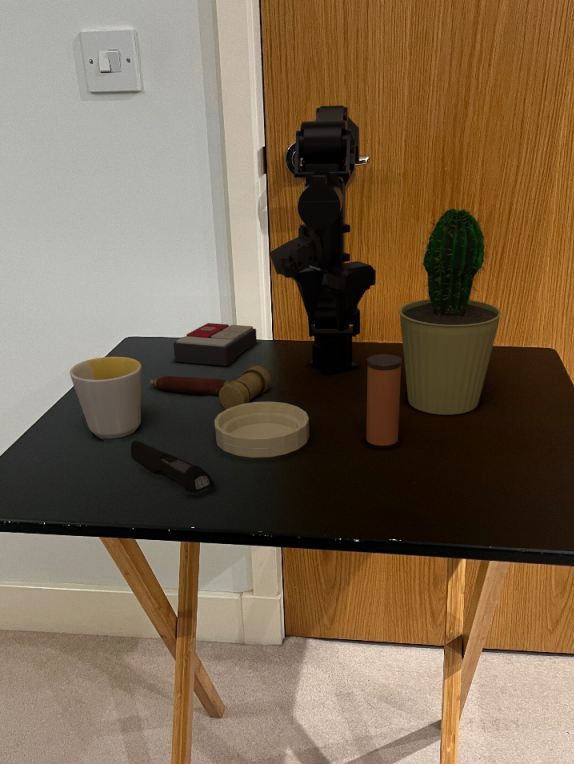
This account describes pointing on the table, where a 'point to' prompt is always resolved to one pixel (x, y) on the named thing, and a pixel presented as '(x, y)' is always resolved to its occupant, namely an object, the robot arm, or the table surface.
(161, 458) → the electric trimmer
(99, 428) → the mug
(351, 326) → the robot arm
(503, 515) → the table surface
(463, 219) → the potted cactus
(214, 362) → the gray and red box
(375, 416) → the copper tin
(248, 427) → the bowl
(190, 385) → the gavel
